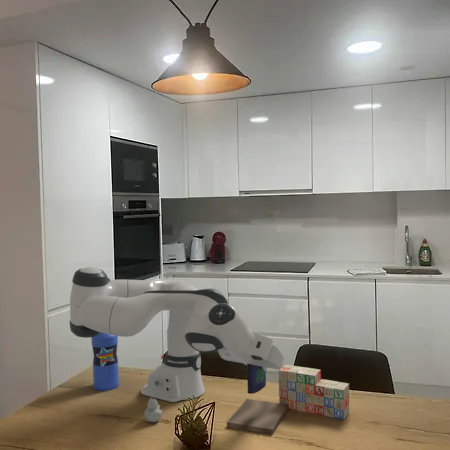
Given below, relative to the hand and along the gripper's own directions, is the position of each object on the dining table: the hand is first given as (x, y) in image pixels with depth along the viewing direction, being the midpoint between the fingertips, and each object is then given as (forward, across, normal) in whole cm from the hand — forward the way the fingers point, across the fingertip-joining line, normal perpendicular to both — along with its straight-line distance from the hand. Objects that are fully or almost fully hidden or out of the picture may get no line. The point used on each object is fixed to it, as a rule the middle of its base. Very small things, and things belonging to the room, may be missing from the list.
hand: (258, 367), depth 149 cm
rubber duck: (-1, -27, -24) cm, 36 cm away
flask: (+4, 0, -5) cm, 7 cm away
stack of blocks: (+21, +12, -2) cm, 24 cm away
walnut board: (+11, 0, -11) cm, 16 cm away
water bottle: (+8, -61, -14) cm, 63 cm away
